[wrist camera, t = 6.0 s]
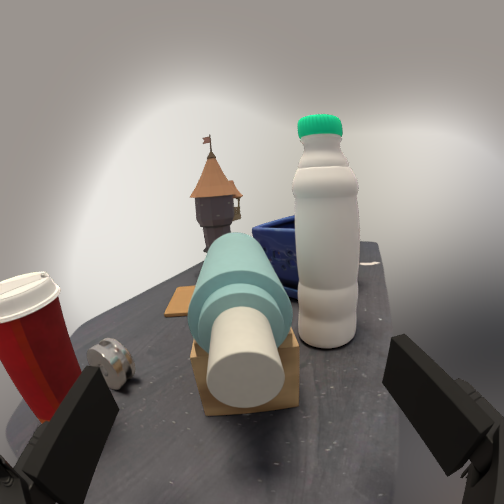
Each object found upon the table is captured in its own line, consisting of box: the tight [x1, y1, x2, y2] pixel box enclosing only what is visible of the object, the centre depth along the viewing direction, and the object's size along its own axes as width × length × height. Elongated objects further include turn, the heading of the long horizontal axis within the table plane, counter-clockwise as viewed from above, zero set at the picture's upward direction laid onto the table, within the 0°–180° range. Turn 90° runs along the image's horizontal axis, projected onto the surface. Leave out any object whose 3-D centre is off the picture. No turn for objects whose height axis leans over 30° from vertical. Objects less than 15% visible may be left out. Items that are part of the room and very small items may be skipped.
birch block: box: [190, 328, 299, 416], centre depth 25 cm, size 8×11×8 cm
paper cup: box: [0, 272, 82, 423], centre depth 15 cm, size 8×8×14 cm
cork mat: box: [164, 286, 195, 317], centre depth 46 cm, size 12×12×1 cm
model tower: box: [190, 135, 243, 253], centre depth 55 cm, size 10×11×30 cm
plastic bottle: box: [188, 232, 293, 408], centre depth 20 cm, size 20×7×7 cm, turn 4°
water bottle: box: [292, 114, 360, 348], centre depth 28 cm, size 7×7×25 cm
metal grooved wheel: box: [87, 338, 136, 390], centre depth 24 cm, size 5×3×5 cm, turn 71°
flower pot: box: [252, 215, 299, 299], centre depth 44 cm, size 13×13×12 cm
